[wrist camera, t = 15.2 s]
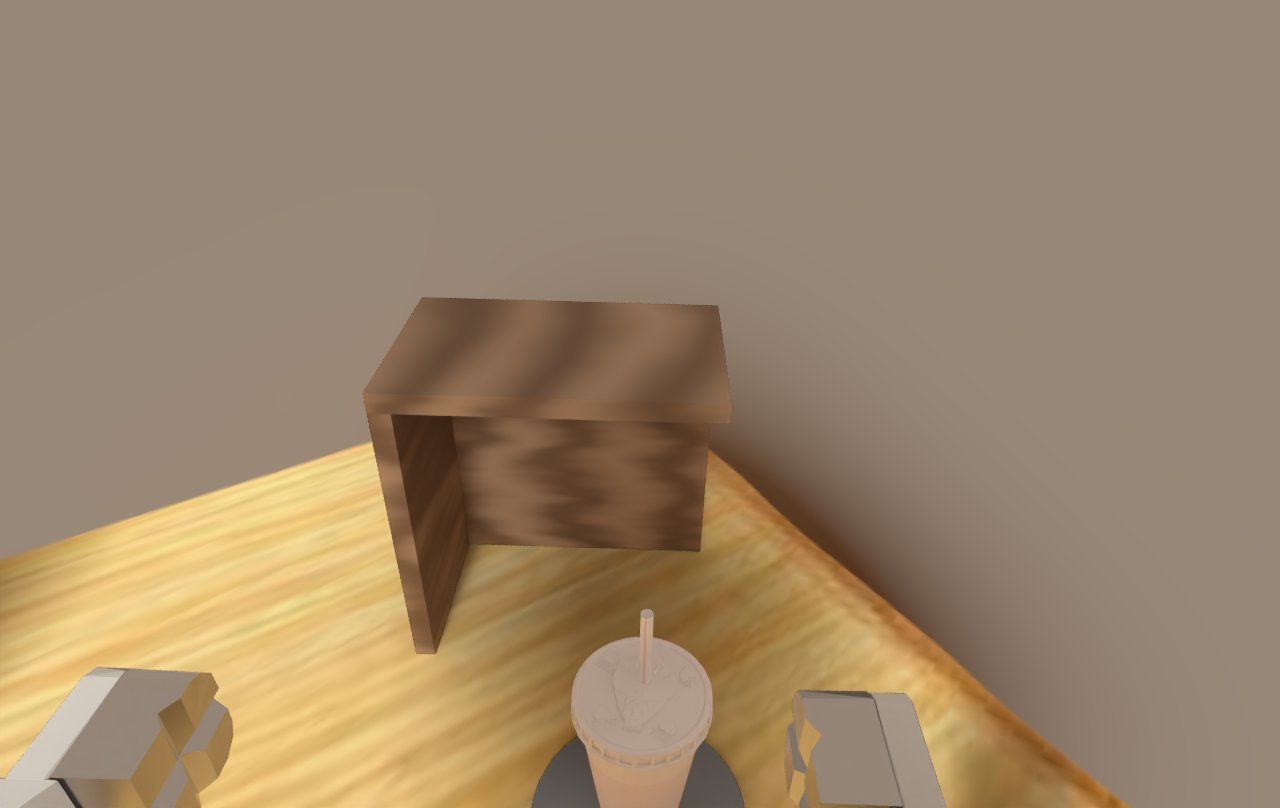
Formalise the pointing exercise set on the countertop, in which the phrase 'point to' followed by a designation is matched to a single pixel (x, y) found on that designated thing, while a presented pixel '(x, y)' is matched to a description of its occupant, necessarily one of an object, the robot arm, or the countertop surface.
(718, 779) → the coaster
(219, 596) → the countertop surface
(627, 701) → the smoothie
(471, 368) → the shelf
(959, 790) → the countertop surface
